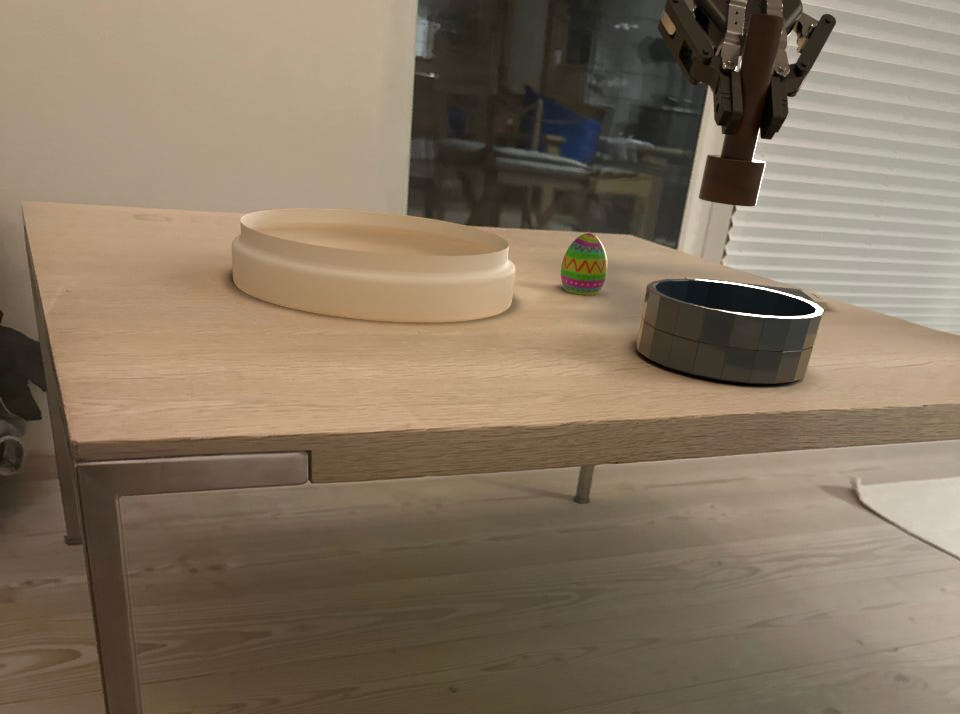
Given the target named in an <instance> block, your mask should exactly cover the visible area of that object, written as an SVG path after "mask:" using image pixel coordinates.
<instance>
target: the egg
mask: <svg viewBox="0 0 960 714" xmlns="http://www.w3.org/2000/svg"><path fill="white" fill-rule="evenodd" d="M607 275H608V257H607V253H606V249H605V247H604V245H603V242H602V241H601V240H600V238H599V237H598V236H597V235H595V234H594V233H591V232H590V233H589V232H586V233H583V234H581V235H579V236H578V237H576V238H575V239H574V240H573V241H572V243H570V244H569V246H568V248H567V249H566V252H565V254H564V256H563V259H562V261H561V266H560V279H561V284H562V286H563V289H564V291H565V292H567V293H569V294H573V295H579V296H595V295H597V294H598V293H599V292H600V291H601V289H602V288H603V286H604V285H605V282H606V279H607Z"/></svg>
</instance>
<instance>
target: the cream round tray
mask: <svg viewBox="0 0 960 714" xmlns="http://www.w3.org/2000/svg"><path fill="white" fill-rule="evenodd" d="M239 221H240V234H239V235H237V236H236V237H235V238H234V239H233V240H232V242H231V265H232V269H231V270H232V280H233V283H234V285H235V286H236V288H238V289H239V290H240V291H242V292H243V293H245V294H247V295H249V296H250V297H253V298H256V299H258V300H261V301H263V302H266V303H270V304H273V305H277V306H279V307H285V308H288V309H292V310H297V311H302V312H306V313H312V314H318V315H322V316H323V315H324V316H330V317H336V318H344V319H345V318H346V319H353V320H363V321H373V322H387V323H388V322H389V323H411V324H415V323H418V324H419V323H420V324H421V323H422V324H423V323H424V324H427V323H428V324H429V323H435V324H436V323H457V322H466V321H467V322H468V321H475V320H481V319H486V318H491V317H494V316H497V315H499V314H502V313H504V312H505V311H507V310H509V308H510V307H511V306H512V303H513V296H514V287H515V286H514V285H515V278H516V277H515V276H516V266H515V264H514V263H513V262H512V261H511V260H510V259H509V249H510V242H509V241H508V240H507V239H506V238H504V237H502V236H501V235H498V234H496V233H494V232H491V231H487V230H484V229H481V228H478V227H473V226H470V225H465V224H460V223H456V222H451V221H446V220H440V219H435V218H428V217H422V216H415V215H407V214H399V213H390V212H382V211H381V212H380V211H372V210H371V211H370V210H358V209H344V208H343V209H342V208H320V207H319V208H318V207H317V208H316V207H315V208H314V207H313V208H312V207H311V208H310V207H308V208H307V207H306V208H303V207H302V208H300V207H297V208H276V209H265V210H258V211H252V212H249V213H246V214H244V215H243V216H241V217H240V220H239Z"/></svg>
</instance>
